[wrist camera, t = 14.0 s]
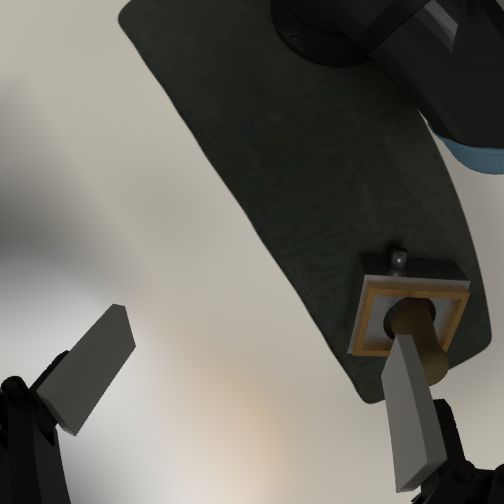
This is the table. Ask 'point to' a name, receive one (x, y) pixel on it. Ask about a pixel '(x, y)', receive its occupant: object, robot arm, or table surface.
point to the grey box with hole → (402, 299)
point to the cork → (422, 339)
